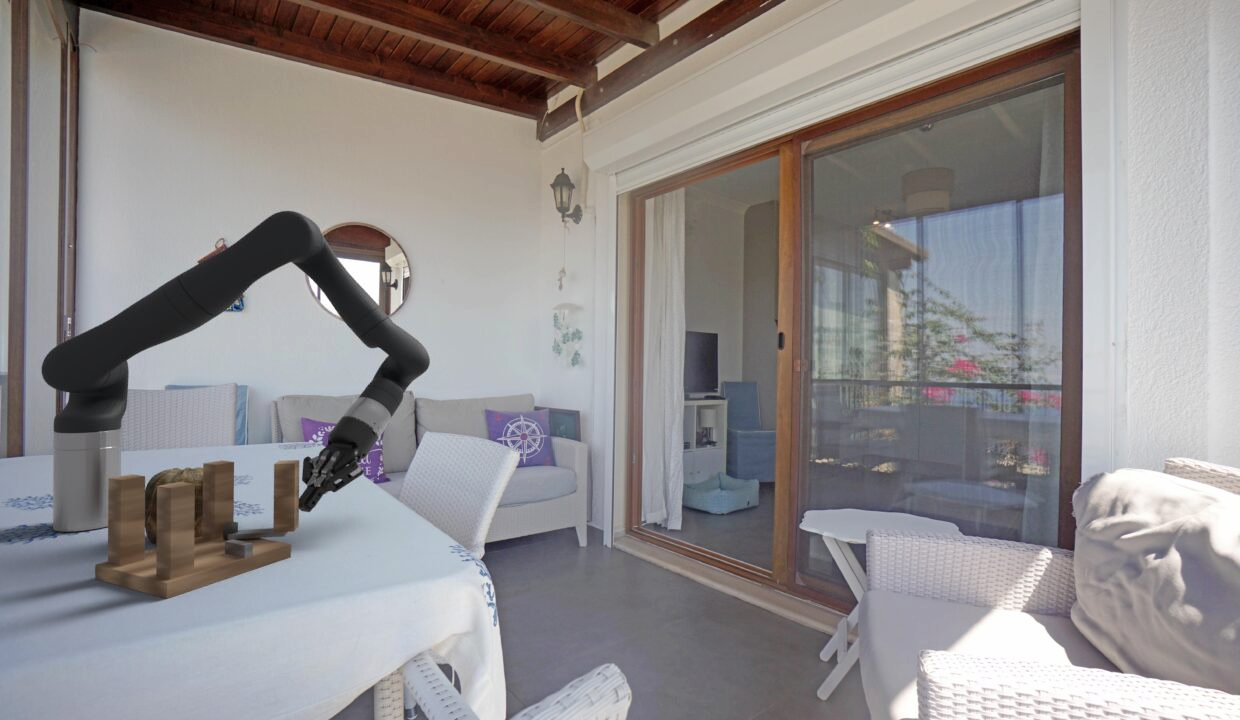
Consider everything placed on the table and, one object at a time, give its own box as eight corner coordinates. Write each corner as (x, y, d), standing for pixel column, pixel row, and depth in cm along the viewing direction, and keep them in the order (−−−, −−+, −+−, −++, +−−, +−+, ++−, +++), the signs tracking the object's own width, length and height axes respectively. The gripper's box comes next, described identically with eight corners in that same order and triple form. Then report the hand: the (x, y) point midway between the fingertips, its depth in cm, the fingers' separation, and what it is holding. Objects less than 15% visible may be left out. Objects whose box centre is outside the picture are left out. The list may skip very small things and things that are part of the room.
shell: (180, 549, 98) (181, 475, 98) (124, 544, 100) (125, 471, 100) (235, 530, 109) (236, 463, 108) (184, 526, 111) (184, 460, 111)
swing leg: (219, 540, 96) (220, 465, 95) (226, 535, 98) (227, 462, 98) (294, 536, 98) (294, 463, 98) (298, 531, 101) (299, 460, 101)
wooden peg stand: (95, 578, 85) (95, 478, 85) (223, 542, 102) (223, 458, 102) (166, 598, 79) (167, 490, 79) (290, 556, 95) (291, 467, 95)
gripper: (322, 412, 113) (260, 492, 102) (377, 416, 108) (317, 501, 97) (345, 437, 118) (288, 516, 107) (398, 442, 113) (344, 526, 102)
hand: (302, 509), depth 102 cm, fingers closed
